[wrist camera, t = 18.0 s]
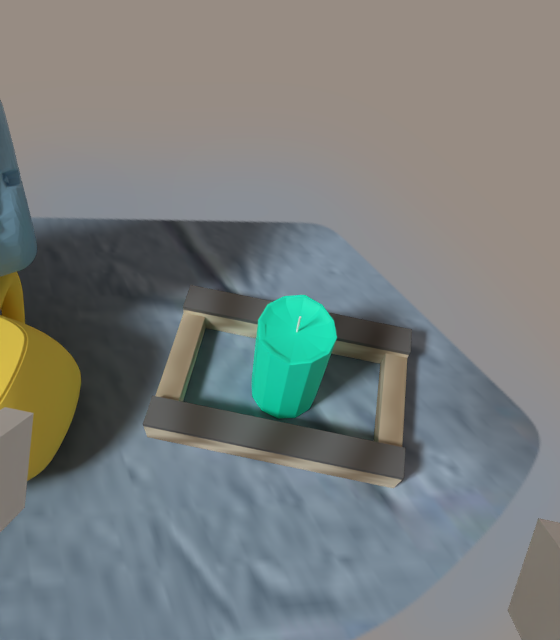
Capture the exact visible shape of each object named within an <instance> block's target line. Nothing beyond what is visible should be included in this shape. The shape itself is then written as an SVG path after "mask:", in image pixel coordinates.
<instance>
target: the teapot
mask: <svg viewBox="0 0 560 640" xmlns="http://www.w3.org/2000/svg"><path fill="white" fill-rule="evenodd" d="M0 309H1V310H2V315H0V410H1V409H3V408H4V407H7V408H11V409H16V410H21V411H26V412H31V413H34V414H33V424H32V435H31V445H30V455H29V466H28V476H27V481H28V480H30V479H31V478H33V477H35V476H36V475H38V474H39V473H40V472H41V471H42V470H44V469H45V467H46V466H47V465H48V464H49V463H50V462H51V460H52V459H53V457H54V455H55V454H56V452H57V450H58V449H59V447H60V445H61V443H62V441H63V439H64V437H65V435H66V433H67V431H68V429H69V426H70V424H71V422H72V419H73V416H74V413H75V410H76V406H77V402H78V398H79V393H80V387H81V373H80V370H79V367H78V365H77V363H76V362H75V360H74V358H73V357H72V355H71V354H70V353H69V352H68V351H67V350H66V349H65V348H64V347H63V346H62V345H61V344H59V343H58V342H57V341H56V340H54V339H53V338H51V337H50V336H48V335H47V334H45V333H43V332H42V331H39V330H37V329H35V328H33V327H31V326H29V325H27V324H25V314H24V300H23V290H22V285H21V281H20V278H19V275H18V273H17V272H14V273H11V274H7V275H4V276H1V277H0Z"/></svg>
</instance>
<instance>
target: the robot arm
mask: <svg viewBox="0 0 560 640" xmlns="http://www.w3.org/2000/svg"><path fill="white" fill-rule="evenodd" d="M36 253H37V242H36V237H35V233H34V228H33V224H32V220H31V216H30V212H29V208H28V204H27V199H26V196H25V192H24V188H23V185H22V181H21V177H20V172H19V168H18V164H17V160H16V155H15V151H14V147H13V143H12V139H11V135H10V131H9V127H8V123H7V120H6V116H5V112H4V109H3V105H2V102H1V100H0V277H1V276H4V275H7V274H11V273H14V272H17V271H20V270H23V269H24V268H26V267H28V265H30V264H31V263H32V262H33V260H34V259H35V256H36ZM33 414H34V413H31V412H26V411H21V410H16V409H11V408H7V407H4V408H3V409H1V410H0V532H1V531H2V530H3V529H4V528H5V527H6V526H7V525H8V524H9V523H10V522H11V521H12V520H13V519H14V518H15V517H16V516H17V515H18V514H19V513H20V512H21V511H22V510H23V508H24V507H25V497H26V487H27V476H28V466H29V455H30V445H31V435H32V424H33ZM508 612H509V614H510V616H511V618H512V620H513V623H514V625H515V627H516V629H517V631H518V633H519V635H520V637H521V639H522V640H560V523H558V522H553V521H549V520H544V519H538V521H537V524H536V527H535V530H534V533H533V536H532V539H531V542H530V545H529V548H528V551H527V554H526V557H525V560H524V563H523V566H522V569H521V572H520V575H519V578H518V581H517V584H516V587H515V590H514V593H513V596H512V599H511V602H510V605H509V608H508Z"/></svg>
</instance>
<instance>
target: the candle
mask: <svg viewBox="0 0 560 640" xmlns="http://www.w3.org/2000/svg"><path fill="white" fill-rule="evenodd" d="M336 339H337V335H336V329H335V323H334V320H333V319H332V317H331V316H330V315H329V313H328V312H327V311H326V309H325V308H324V306H323V305H321V304H320V303H318V302H316V301H315V300H313V299H311V298H309V297H308V296H306V295H295V296H284V297H282V298H280V299H277V300H275V301H273V302H271V303H269V304H267V306H266V308H265V309H264V311H263V313H262V314H261V316H260V318H259V319H258V326H257V335H256V345H255V354H254V364H253V373H252V397H253V398H254V400H255V401H256V403H257V404H258V406H259V407H260V409H261V410H262V411H264V412H266V413H268V414H270V415H272V416H274V417H276V418H296V417H297V416H299V415H301V414H302V413H304V412H306V411H307V410H309V409H310V407H311V405H312V403H313V401H314V399H315V397H316V395H317V392H318V389H319V386H320V383H321V381H322V378H323V375H324V372H325V370H326V367H327V364H328V361H329V358H330V356H331V353H332V350H333V347H334V345H335V342H336Z"/></svg>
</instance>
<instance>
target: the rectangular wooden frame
mask: <svg viewBox="0 0 560 640" xmlns="http://www.w3.org/2000/svg"><path fill="white" fill-rule="evenodd" d="M271 302H273V301H268V300H263V299H258V298H253V297H248V296H243V295H238V294H233V293H228V292H223V291H218V290H213V289H208V288H203V287H198V286H193V285H190V288H189V291H188V294H187V297H186V300H185V303H184V305H183V310H184V314H183V316H182V319H181V322H180V325H179V328H178V331H177V334H176V337H175V340H174V343H173V346H172V349H171V352H170V355H169V358H168V361H167V364H166V367H165V369H164V372H163V375H162V378H161V381H160V384H159V387H158V390H157V393H156V396H152V399H151V402H150V405H149V407H148V410H147V413H146V416H145V419H144V422H143V426H144V429H145V431H146V434H147V437H150V438H155V439H159V440H164V441H169V442H174V443H179V444H183V445H188V446H193V447H198V448H203V449H207V450H212V451H217V452H222V453H227V454H231V455H236V456H241V457H246V458H251V459H255V460H260V461H265V462H270V463H275V464H279V465H284V466H289V467H294V468H299V469H303V470H308V471H313V472H318V473H323V474H327V475H332V476H337V477H342V478H347V479H351V480H356V481H361V482H366V483H371V484H375V485H380V486H385V487H390V488H394V487H395V486H396V485H397V484H398V483H399V482H400V481H401V480H402V479H403V478H404V463H405V448H404V447H402V441H403V424H404V406H405V389H406V371H407V357H408V356H409V354H410V353H411V334H412V329H407V328H402V327H397V326H392V325H387V324H382V323H377V322H372V321H367V320H362V319H357V318H352V317H347V316H342V315H337V314H332V313H329V315H330V316H331V317H332V319H333V320H334V323H335V329H336V335H337V339H336V342H335V345H334V347H333V350H332V353H331V354H336V355H341V356H346V357H351V358H356V359H361V360H365V361H370V362H375V363H380V374H379V385H378V397H377V408H376V419H375V430H374V441H370V440H365V439H361V438H356V437H351V436H346V435H341V434H336V433H331V432H327V431H322V430H317V429H312V428H307V427H302V426H298V425H293V424H288V423H283V422H278V421H273V420H269V419H264V418H259V417H254V416H249V415H244V414H239V413H235V412H230V411H225V410H220V409H215V408H210V407H206V406H201V405H196V404H191V403H186V402H183V400H184V397H185V394H186V390H187V387H188V384H189V381H190V377H191V374H192V371H193V368H194V364H195V361H196V358H197V354H198V351H199V348H200V345H201V341H202V338H203V335H204V332H205V328H208V329H213V330H218V331H223V332H228V333H232V334H237V335H242V336H247V337H252V338H256V335H257V326H258V319H259V318H260V316H261V314H262V313H263V311H264V309H265V308H266V306H267V304H269V303H271Z"/></svg>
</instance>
